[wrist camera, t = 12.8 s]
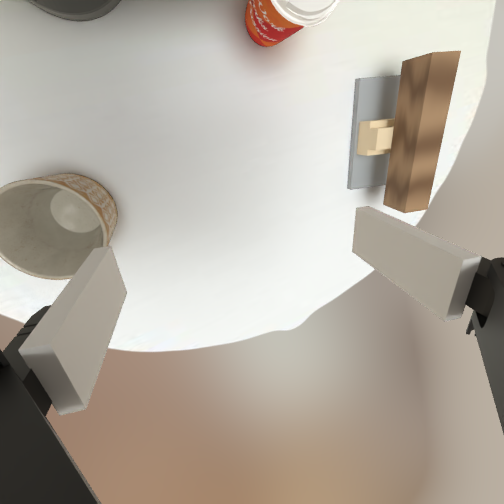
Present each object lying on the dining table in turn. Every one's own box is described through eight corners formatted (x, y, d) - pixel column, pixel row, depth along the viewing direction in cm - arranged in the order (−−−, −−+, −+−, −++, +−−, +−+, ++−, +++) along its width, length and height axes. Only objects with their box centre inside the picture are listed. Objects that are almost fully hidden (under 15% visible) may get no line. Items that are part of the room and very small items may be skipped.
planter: (33, 242, 42) (-11, 275, 32) (26, 157, 37) (-27, 168, 28) (122, 251, 45) (105, 284, 36) (126, 176, 41) (108, 191, 31)
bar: (402, 61, 36) (432, 52, 32) (428, 59, 37) (460, 50, 33) (383, 204, 45) (404, 213, 41) (404, 201, 46) (427, 209, 41)
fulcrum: (355, 79, 42) (381, 72, 36) (411, 75, 43) (444, 68, 38) (347, 188, 49) (367, 196, 44) (395, 181, 51) (420, 188, 45)
